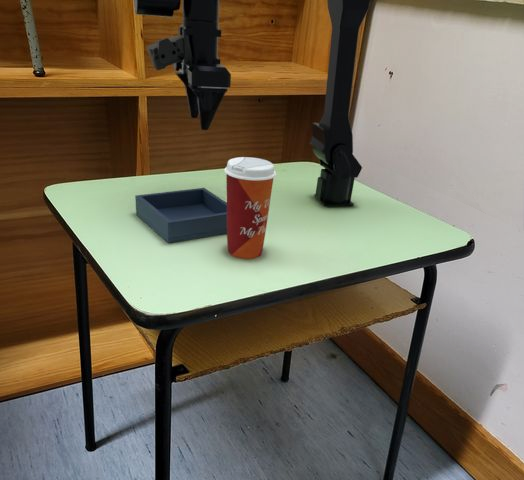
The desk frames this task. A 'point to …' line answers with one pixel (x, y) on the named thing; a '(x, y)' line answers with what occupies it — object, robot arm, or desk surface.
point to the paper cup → (248, 205)
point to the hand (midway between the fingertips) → (199, 123)
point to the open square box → (183, 214)
